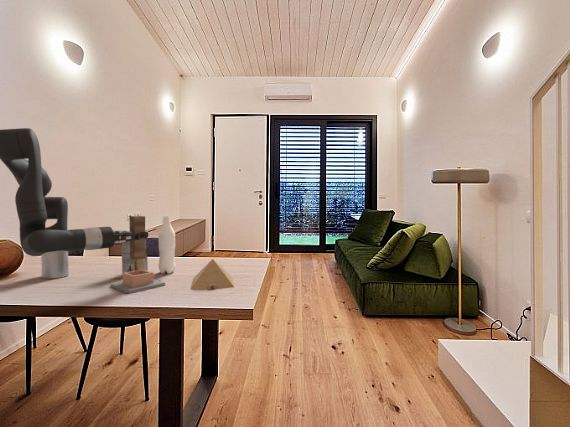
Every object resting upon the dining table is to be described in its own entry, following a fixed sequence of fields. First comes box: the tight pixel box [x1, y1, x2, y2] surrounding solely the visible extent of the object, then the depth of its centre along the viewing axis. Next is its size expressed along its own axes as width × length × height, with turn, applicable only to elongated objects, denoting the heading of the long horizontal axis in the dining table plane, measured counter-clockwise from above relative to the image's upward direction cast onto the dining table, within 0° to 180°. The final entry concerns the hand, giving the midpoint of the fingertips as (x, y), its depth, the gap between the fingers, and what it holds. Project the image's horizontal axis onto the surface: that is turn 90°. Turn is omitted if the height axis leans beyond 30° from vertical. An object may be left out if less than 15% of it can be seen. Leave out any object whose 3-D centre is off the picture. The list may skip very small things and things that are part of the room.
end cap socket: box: [110, 269, 166, 294], centre depth 124 cm, size 14×14×5 cm
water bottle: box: [157, 215, 177, 275], centre depth 145 cm, size 7×7×25 cm
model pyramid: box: [190, 258, 235, 290], centre depth 129 cm, size 17×17×10 cm
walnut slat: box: [128, 215, 146, 260], centre depth 123 cm, size 4×4×16 cm
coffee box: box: [120, 238, 149, 273], centre depth 143 cm, size 9×6×16 cm
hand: (144, 234), depth 125 cm, fingers closed on walnut slat, 4 cm apart
